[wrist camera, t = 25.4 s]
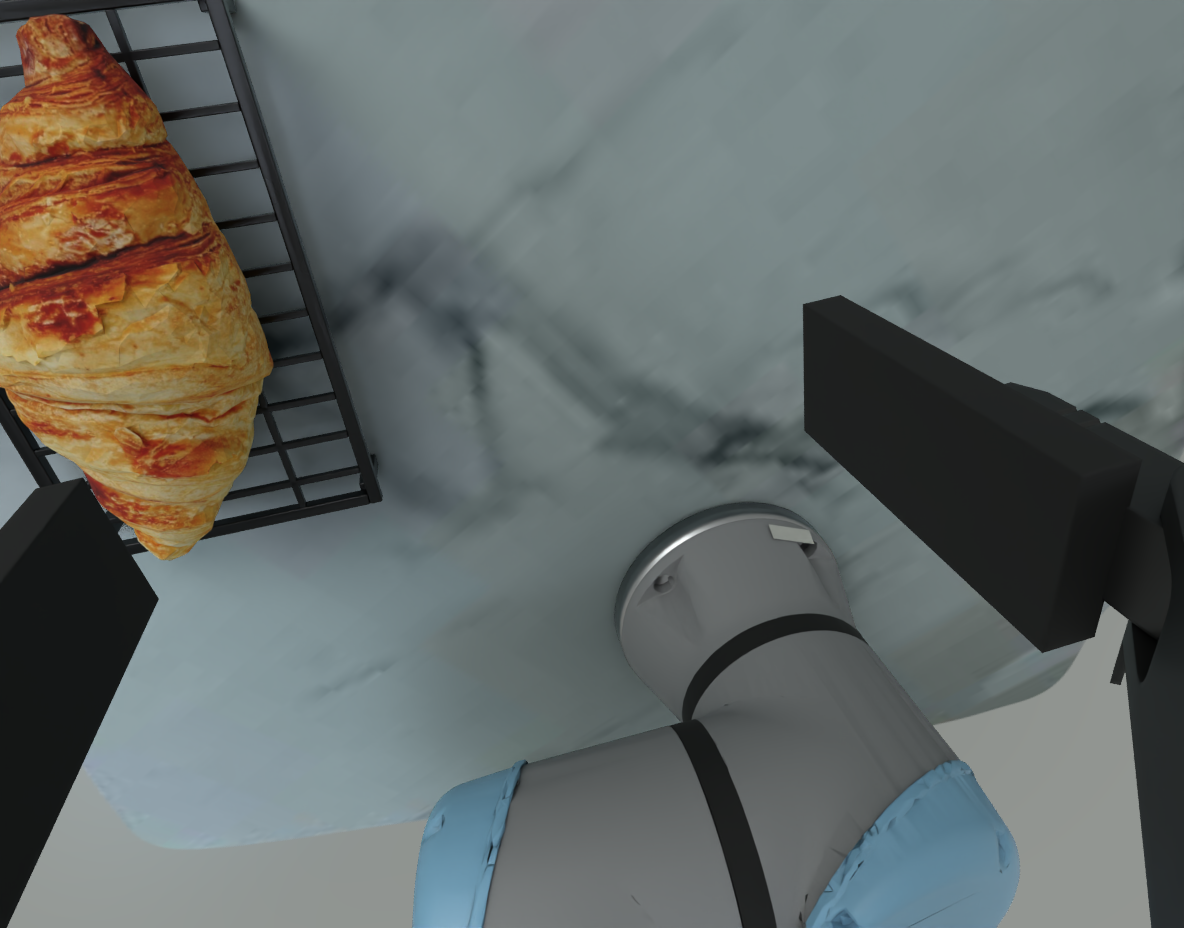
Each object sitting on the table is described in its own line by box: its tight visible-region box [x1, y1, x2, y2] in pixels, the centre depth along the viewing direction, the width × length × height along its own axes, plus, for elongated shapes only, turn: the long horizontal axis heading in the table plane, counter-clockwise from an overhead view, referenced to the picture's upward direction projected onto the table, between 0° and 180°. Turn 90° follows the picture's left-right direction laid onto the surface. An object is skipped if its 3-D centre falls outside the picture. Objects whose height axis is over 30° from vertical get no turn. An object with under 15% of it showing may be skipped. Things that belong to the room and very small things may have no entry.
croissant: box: [0, 14, 273, 561], centre depth 27 cm, size 21×10×8 cm, turn 175°
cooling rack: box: [0, 0, 383, 555], centre depth 31 cm, size 22×14×4 cm, turn 7°
